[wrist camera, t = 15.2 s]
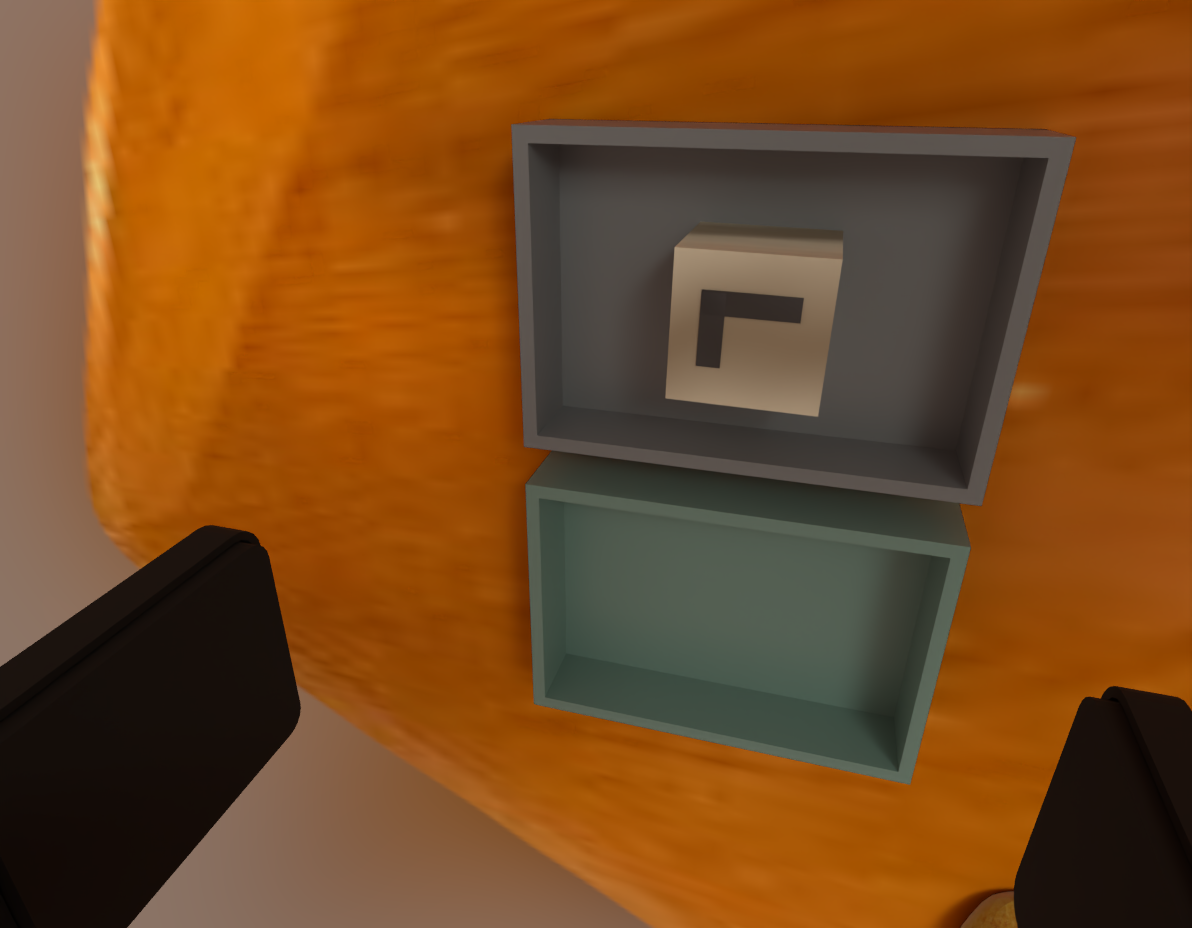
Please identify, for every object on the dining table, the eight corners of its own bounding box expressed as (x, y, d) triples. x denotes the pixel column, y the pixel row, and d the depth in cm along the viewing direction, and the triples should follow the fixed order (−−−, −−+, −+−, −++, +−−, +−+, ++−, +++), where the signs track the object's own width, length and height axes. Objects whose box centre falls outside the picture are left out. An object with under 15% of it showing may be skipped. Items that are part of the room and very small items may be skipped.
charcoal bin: (549, 119, 26) (511, 124, 23) (1045, 129, 22) (1076, 137, 19) (555, 410, 31) (523, 446, 28) (966, 458, 27) (981, 506, 24)
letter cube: (699, 221, 26) (672, 247, 22) (843, 230, 25) (842, 259, 21) (689, 353, 28) (663, 398, 24) (821, 366, 27) (817, 417, 23)
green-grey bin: (556, 445, 31) (525, 484, 28) (957, 496, 28) (971, 547, 25) (559, 651, 36) (533, 704, 33) (904, 718, 32) (910, 784, 29)
